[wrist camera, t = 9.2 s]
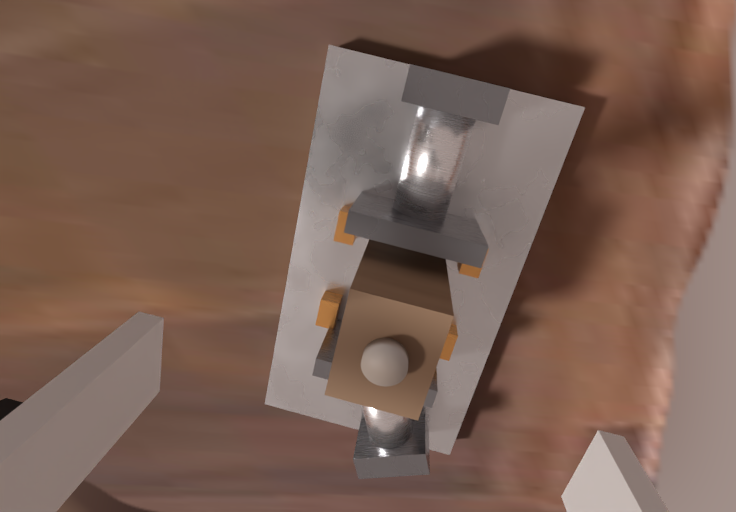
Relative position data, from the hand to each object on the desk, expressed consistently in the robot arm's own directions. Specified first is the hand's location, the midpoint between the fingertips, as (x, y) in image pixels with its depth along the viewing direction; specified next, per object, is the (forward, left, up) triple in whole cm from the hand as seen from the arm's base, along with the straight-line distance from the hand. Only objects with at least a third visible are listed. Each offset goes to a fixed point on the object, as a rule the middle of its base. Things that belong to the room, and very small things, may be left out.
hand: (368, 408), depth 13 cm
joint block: (+1, 0, -11) cm, 11 cm away
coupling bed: (0, 0, -12) cm, 12 cm away
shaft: (+8, -2, -11) cm, 14 cm away
